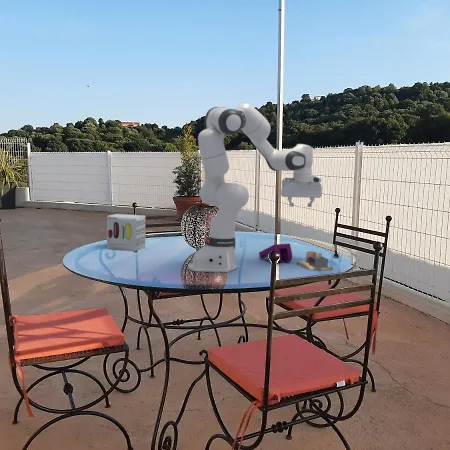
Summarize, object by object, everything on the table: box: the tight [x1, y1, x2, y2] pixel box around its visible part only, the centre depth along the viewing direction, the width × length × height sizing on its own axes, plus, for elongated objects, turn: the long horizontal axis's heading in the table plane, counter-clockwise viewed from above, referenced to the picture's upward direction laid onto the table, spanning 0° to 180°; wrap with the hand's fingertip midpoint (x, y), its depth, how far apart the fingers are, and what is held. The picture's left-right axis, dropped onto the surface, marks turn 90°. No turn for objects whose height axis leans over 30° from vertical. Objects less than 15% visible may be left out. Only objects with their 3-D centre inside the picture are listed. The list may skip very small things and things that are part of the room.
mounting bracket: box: [258, 243, 293, 263], centre depth 229 cm, size 9×8×18 cm
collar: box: [309, 256, 329, 268], centre depth 214 cm, size 6×6×4 cm
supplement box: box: [106, 213, 146, 252], centre depth 249 cm, size 17×13×18 cm
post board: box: [296, 250, 334, 271], centre depth 218 cm, size 12×14×7 cm
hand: (300, 206), depth 222 cm, fingers open, 8 cm apart
